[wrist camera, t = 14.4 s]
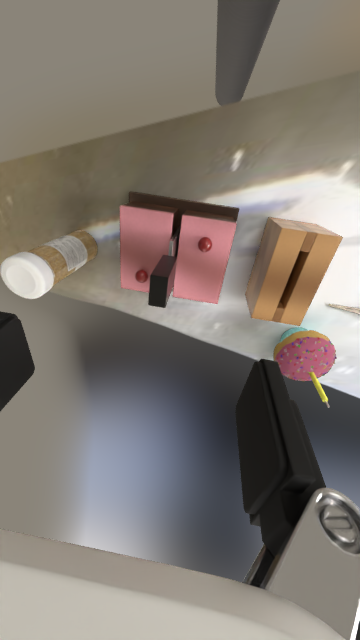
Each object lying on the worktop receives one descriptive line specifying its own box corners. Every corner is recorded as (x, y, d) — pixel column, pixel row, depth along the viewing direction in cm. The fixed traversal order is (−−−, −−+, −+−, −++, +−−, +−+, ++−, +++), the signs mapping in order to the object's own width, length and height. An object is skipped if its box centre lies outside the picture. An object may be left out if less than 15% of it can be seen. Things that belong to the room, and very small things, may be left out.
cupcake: (330, 346, 39) (372, 407, 29) (280, 365, 42) (302, 426, 32) (310, 308, 36) (349, 361, 25) (258, 332, 39) (274, 387, 29)
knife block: (268, 216, 30) (282, 227, 24) (317, 224, 29) (343, 237, 24) (244, 294, 36) (250, 317, 30) (285, 300, 35) (299, 326, 30)
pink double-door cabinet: (130, 191, 30) (109, 195, 24) (238, 207, 30) (245, 216, 23) (129, 278, 36) (112, 299, 30) (218, 292, 36) (219, 317, 30)
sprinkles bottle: (75, 261, 36) (12, 301, 25) (64, 230, 34) (-12, 259, 22) (102, 259, 35) (50, 299, 24) (93, 227, 33) (30, 255, 22)
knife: (174, 225, 31) (150, 257, 19) (186, 227, 31) (170, 260, 19) (170, 268, 34) (147, 319, 22) (180, 270, 34) (163, 321, 22)
